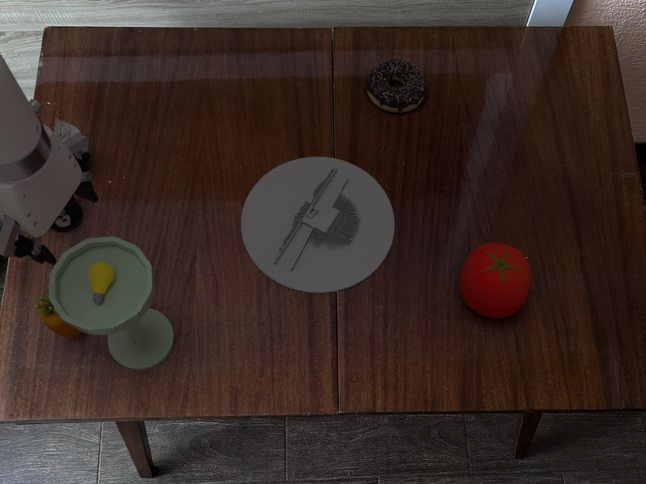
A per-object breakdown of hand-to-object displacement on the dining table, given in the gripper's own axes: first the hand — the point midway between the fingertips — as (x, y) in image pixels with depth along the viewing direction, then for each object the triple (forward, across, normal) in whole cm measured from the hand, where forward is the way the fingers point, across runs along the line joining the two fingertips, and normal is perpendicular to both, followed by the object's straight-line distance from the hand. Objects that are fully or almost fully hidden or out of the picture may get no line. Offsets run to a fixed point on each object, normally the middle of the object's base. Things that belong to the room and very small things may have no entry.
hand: (66, 227), depth 87 cm
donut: (+34, -65, +21) cm, 76 cm away
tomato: (+34, -31, +53) cm, 70 cm away
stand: (+34, +2, +2) cm, 34 cm away
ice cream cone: (+34, -23, -24) cm, 48 cm away
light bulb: (+12, +2, +2) cm, 13 cm away
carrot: (+34, +6, -8) cm, 36 cm away
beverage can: (+34, -13, -22) cm, 43 cm away
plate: (+34, -32, +20) cm, 51 cm away
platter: (+13, +2, +2) cm, 13 cm away
